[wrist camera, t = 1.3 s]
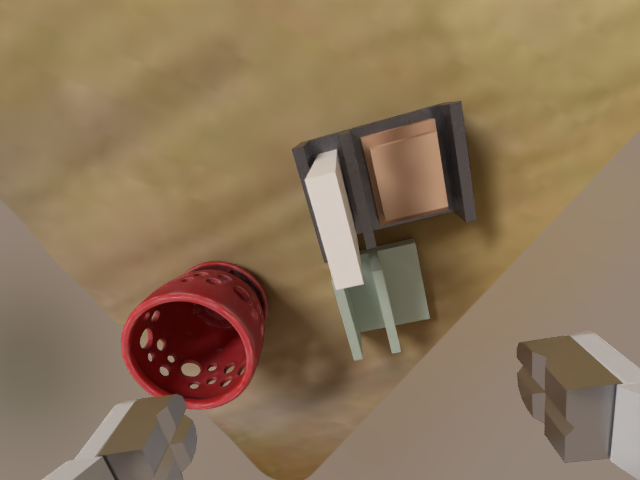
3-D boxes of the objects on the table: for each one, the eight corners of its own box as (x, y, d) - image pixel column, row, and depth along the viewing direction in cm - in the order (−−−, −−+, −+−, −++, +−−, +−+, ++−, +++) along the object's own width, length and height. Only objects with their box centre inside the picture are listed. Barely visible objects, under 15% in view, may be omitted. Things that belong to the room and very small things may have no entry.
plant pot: (294, 319, 45) (279, 387, 34) (208, 352, 47) (167, 427, 36) (244, 230, 41) (208, 274, 30) (153, 272, 44) (89, 327, 32)
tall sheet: (337, 149, 36) (335, 171, 22) (355, 221, 38) (363, 284, 24) (318, 154, 36) (304, 180, 22) (337, 225, 39) (335, 290, 25)
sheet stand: (412, 238, 40) (425, 260, 34) (427, 311, 43) (441, 344, 37) (328, 257, 42) (326, 282, 36) (348, 327, 45) (349, 361, 39)
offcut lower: (429, 118, 34) (434, 118, 33) (443, 204, 37) (448, 209, 35) (359, 137, 35) (361, 138, 34) (378, 220, 38) (380, 226, 36)
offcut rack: (443, 102, 35) (469, 100, 28) (458, 205, 39) (484, 226, 32) (300, 142, 37) (291, 149, 30) (327, 237, 41) (324, 262, 34)
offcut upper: (431, 131, 33) (436, 132, 31) (442, 201, 35) (448, 206, 33) (368, 147, 34) (370, 149, 32) (383, 215, 36) (385, 221, 34)
